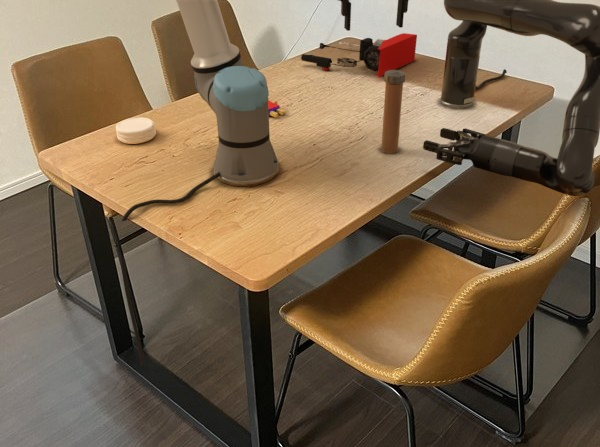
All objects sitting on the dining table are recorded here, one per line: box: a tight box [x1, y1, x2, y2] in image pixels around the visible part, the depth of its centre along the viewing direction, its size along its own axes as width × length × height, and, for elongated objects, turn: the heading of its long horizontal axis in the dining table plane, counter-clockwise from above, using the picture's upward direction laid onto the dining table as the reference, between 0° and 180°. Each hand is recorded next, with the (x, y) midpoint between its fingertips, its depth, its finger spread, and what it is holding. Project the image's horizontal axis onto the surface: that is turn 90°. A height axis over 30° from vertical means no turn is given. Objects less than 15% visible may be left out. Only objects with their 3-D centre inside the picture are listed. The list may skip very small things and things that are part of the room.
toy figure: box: [268, 99, 286, 118], centre depth 176 cm, size 2×7×12 cm
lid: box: [383, 69, 406, 84], centre depth 145 cm, size 5×5×2 cm
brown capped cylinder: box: [381, 82, 404, 154], centre depth 149 cm, size 4×4×19 cm
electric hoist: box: [300, 32, 418, 78], centre depth 210 cm, size 10×27×30 cm
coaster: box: [114, 116, 157, 145], centre depth 162 cm, size 10×10×4 cm
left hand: (373, 27), depth 155 cm, fingers open, 13 cm apart
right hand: (432, 138), depth 146 cm, fingers open, 8 cm apart
